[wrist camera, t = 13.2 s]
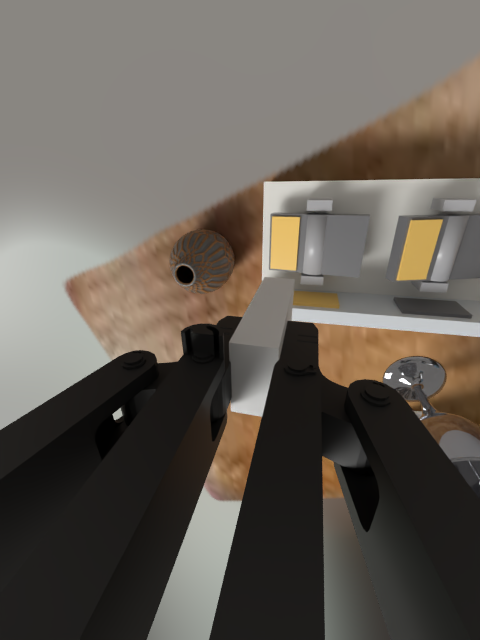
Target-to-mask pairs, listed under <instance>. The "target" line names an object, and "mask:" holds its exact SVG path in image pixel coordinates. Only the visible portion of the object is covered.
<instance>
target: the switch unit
mask: <svg viewBox="0 0 480 640" xmlns="http://www.w3.org/2000/svg"><path fill="white" fill-rule="evenodd" d="M274 212H277V213H329V214H370V220H369V226H368V231H367V237H366V242H365V248H364V253H363V259H362V265H361V270H360V276H359V278H356V277H344V276H333V275H322V274H320V275H308V274H304V273H299V272H288V271H277V270H269V247H270V214H271V213H274ZM473 213H480V178H461V179H402V180H344V181H286V182H264V207H263V256H262V281H263V279H264V277H271V278H287V279H295V283H294V296H293V308H292V321H303V322H314V323H326V324H337V325H349V326H360V327H371V328H383V329H394V330H406V331H417V332H428V333H440V334H451V335H463V336H474V337H480V278H472V279H452V280H448V281H445V282H437V281H410V282H392V281H390V280H388V279H386V278H385V276H386V272H387V267H388V263H389V258H390V254H391V249H392V245H393V240H394V236H395V231H396V227H397V222H398V218H399V216H403V215H438V214H473Z"/></svg>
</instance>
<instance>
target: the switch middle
mask: <svg viewBox="0 0 480 640" xmlns="http://www.w3.org/2000/svg"><path fill="white" fill-rule="evenodd" d="M385 278H386V279H388V280H390V281H392V282H410V281H437V282H445V281H448V280H452V279H472V278H480V213H473V214H438V215H403V216H399V218H398V222H397V227H396V231H395V236H394V240H393V245H392V249H391V254H390V258H389V263H388V267H387V272H386V276H385Z"/></svg>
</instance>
